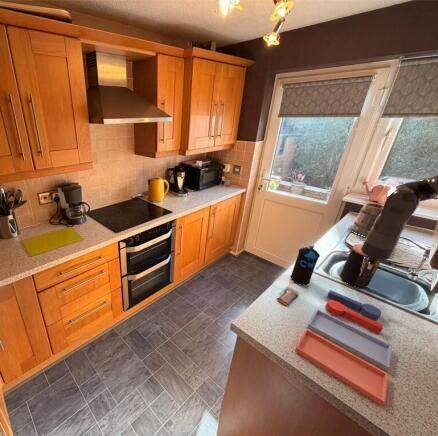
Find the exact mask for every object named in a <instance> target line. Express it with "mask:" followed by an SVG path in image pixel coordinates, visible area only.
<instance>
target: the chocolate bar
mask: <svg viewBox="0 0 438 436" xmlns="http://www.w3.org/2000/svg"><path fill="white" fill-rule="evenodd" d="M298 296H299V294H298V293H297V292H294V291H292V290H291V289H289V288H287V289H286V290H285V291H284V292H283V293H282V294H281V295H280V296H279V297H278V298H276V299H275V300H277V301H278V302H279V303H282V304H283V305H285V306H287V307H289V305H290V304H291V303H292V302H293V301H294V300H295V299H296V298H297V297H298Z"/></svg>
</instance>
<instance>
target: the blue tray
mask: <svg viewBox="0 0 438 436" xmlns="http://www.w3.org/2000/svg"><path fill="white" fill-rule="evenodd" d="M306 329H308V330H310V331H312V332H314V333H315V334H317V335H319V336H321V337H323V338H324V339H326V340H328V341H330V342H332V343H334V344H335V345H337V346H339V347H341V348H343V349H344V350H346V351H348V352H350V353H352V354H353V355H355V356H357V357H359V358H361V359H362V360H364V361H366V362H368V363H370V364H371V365H373V366H375V367H377V368H379V369H381V370H382V371H384V372H387V371H388V370H389V369H390V366H391V365H390V364H391V357H392V349H393V345H392V344H390V343H388V342H386V341H384V340H382V339H380V338H378V337H376V336H374V335H372V334H370V333H367V332H365V330H361V329H359V328H357V327H355V326H353V325H351V324H349V323H347V322H346V321H343V320H341V319H339V318H337V317H336V316H334V315H332V314H330V313H328V312H325V311H323V310H320V309H319V308H316V309H315V311H314V312H313V315H312V317H311V318H310V320H309V322H308V324H307V326H306Z"/></svg>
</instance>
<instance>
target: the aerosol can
mask: <svg viewBox="0 0 438 436" xmlns="http://www.w3.org/2000/svg"><path fill="white" fill-rule="evenodd" d="M320 257H321V254H320V253H319V252H318V251H317V250H316V249H315V245H314V244H312V243H309V244H308V246H306V247H302V248H299V249H298V253H297V256H296V260H295V263H294V265H293V268H292V272H291V274H290V275H289V278H290V277H291V278H292V280H293V281H294V282H293V281H292V280H291V281H292V282H293V283H295V284H296V285H299V284H300V285H299V286H304V285H305V286H309V285H310V281H311V279H312V276H313V273H314V270H315V268H316V265H317V263H318V260H319V258H320ZM308 284H309V285H308Z"/></svg>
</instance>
